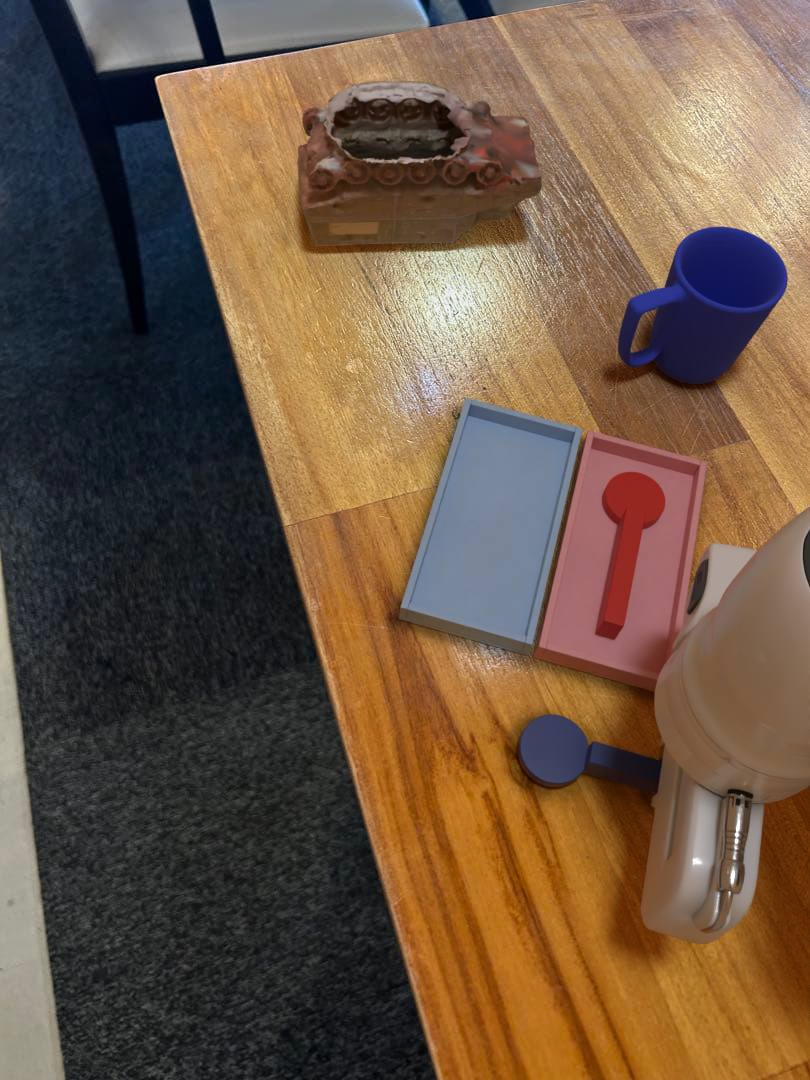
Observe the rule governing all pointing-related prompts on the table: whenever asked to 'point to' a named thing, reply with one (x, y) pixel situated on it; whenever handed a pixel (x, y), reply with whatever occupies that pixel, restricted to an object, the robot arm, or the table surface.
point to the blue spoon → (579, 756)
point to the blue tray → (493, 527)
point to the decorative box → (410, 165)
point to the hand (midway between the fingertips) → (668, 777)
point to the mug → (706, 304)
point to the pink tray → (656, 571)
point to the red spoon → (626, 542)
